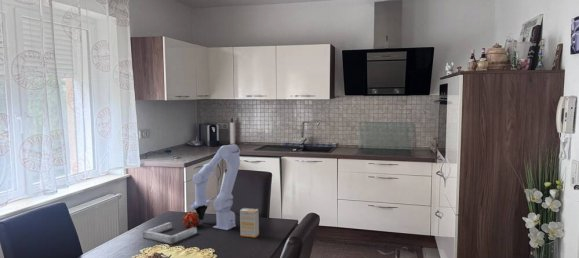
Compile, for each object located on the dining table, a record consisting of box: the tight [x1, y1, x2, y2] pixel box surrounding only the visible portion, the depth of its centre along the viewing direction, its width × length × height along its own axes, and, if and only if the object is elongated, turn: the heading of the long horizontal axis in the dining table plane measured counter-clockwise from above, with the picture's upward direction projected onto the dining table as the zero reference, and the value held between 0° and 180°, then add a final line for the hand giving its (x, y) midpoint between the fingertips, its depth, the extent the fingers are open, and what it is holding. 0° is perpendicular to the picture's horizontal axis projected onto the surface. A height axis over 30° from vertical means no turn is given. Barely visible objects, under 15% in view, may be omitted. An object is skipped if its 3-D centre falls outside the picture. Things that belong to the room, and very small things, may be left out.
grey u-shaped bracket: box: [142, 221, 198, 245], centre depth 190 cm, size 19×17×3 cm
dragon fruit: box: [182, 211, 201, 229], centre depth 203 cm, size 8×8×12 cm
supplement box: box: [239, 207, 260, 239], centre depth 189 cm, size 8×5×13 cm, turn 71°
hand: (201, 219), depth 210 cm, fingers closed
